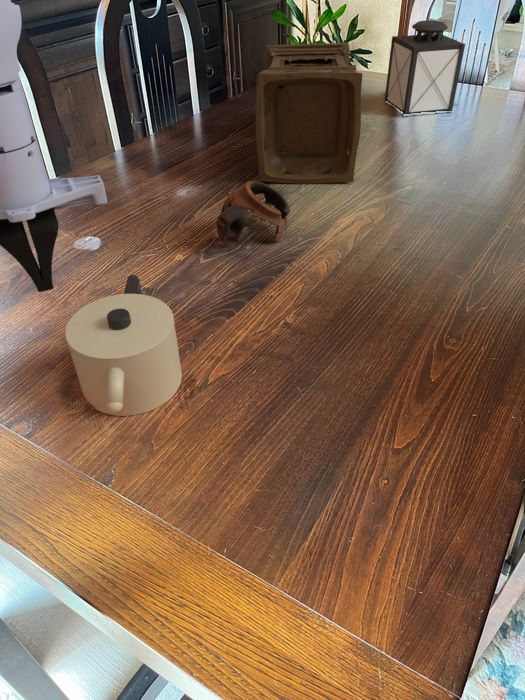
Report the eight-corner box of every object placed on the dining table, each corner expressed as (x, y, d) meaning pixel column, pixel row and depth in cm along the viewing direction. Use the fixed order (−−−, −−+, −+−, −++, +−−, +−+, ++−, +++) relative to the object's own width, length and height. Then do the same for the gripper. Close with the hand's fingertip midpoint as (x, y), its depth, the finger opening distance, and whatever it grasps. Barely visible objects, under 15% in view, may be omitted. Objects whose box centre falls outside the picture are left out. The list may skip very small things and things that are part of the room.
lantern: (452, 113, 119) (484, -47, 101) (404, 117, 118) (428, -44, 99) (428, 98, 128) (454, -52, 110) (383, 102, 126) (402, -50, 108)
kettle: (176, 438, 49) (164, 371, 43) (66, 444, 48) (41, 376, 43) (186, 323, 61) (178, 260, 56) (99, 327, 61) (83, 264, 56)
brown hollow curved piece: (231, 216, 85) (258, 171, 80) (277, 256, 84) (307, 212, 79) (187, 230, 75) (214, 180, 70) (238, 276, 74) (269, 227, 69)
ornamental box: (269, 129, 121) (256, 34, 110) (351, 118, 118) (346, 19, 107) (260, 193, 94) (241, 75, 82) (366, 181, 91) (362, 58, 80)
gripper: (-106, 176, 39) (-36, 328, 48) (100, 143, 43) (129, 287, 52) (-101, 144, 44) (-39, 287, 53) (83, 117, 48) (113, 253, 57)
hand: (44, 285), depth 53 cm, fingers closed
